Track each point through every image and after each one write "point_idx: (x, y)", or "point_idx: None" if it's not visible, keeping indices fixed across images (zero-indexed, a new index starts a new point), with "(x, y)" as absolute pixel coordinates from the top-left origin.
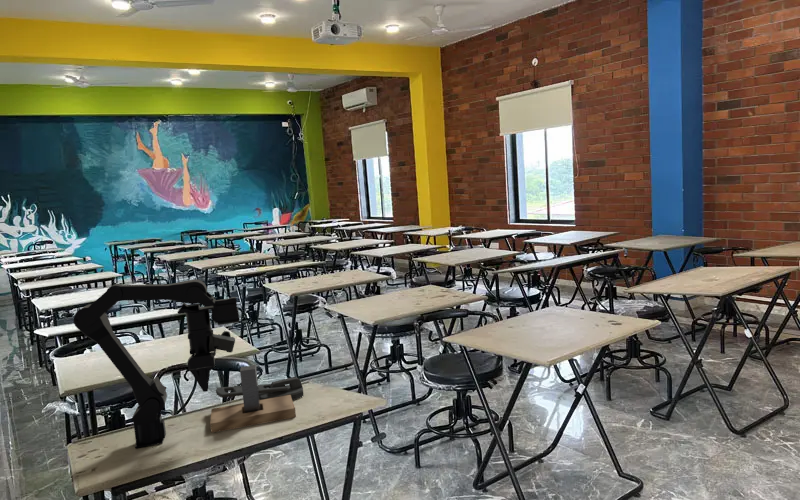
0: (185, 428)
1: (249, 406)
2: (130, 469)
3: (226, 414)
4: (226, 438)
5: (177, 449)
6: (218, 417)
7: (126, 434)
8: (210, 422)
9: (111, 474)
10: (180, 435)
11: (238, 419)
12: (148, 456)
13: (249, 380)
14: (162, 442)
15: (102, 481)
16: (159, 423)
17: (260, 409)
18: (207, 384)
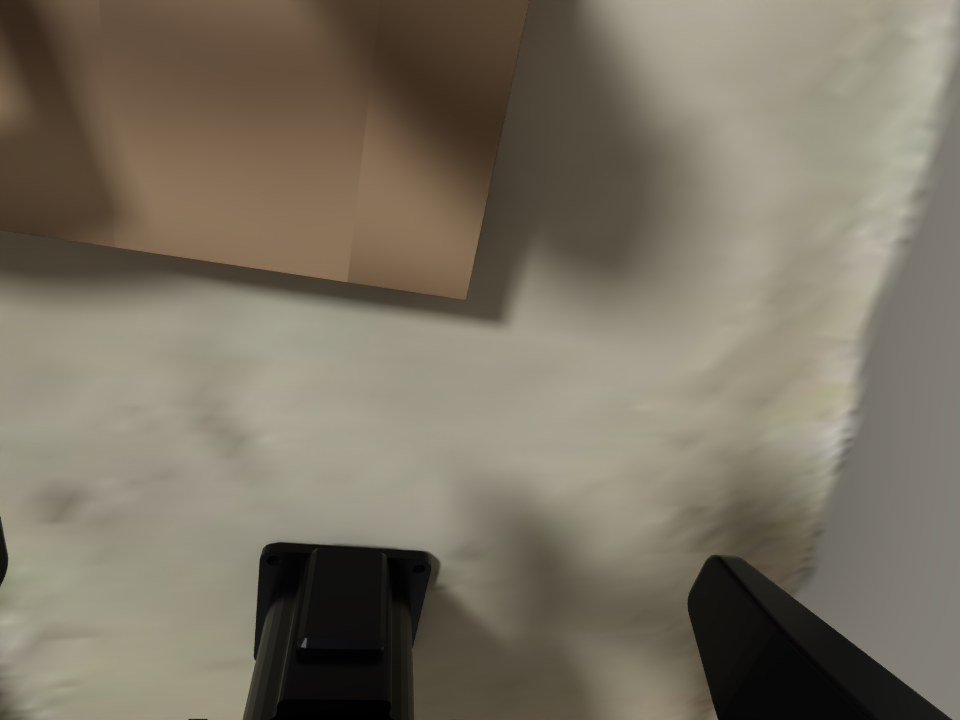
0: (211, 426)
1: None
2: (659, 648)
3: (292, 105)
4: (667, 180)
5: (588, 482)
6: (336, 203)
7: (114, 705)
8: (432, 293)
9: (646, 698)
10: (347, 460)
11: (527, 8)
12: (565, 598)
13: None
14: (424, 554)
15: (688, 714)
16: (391, 664)
17: None
18: (864, 666)
